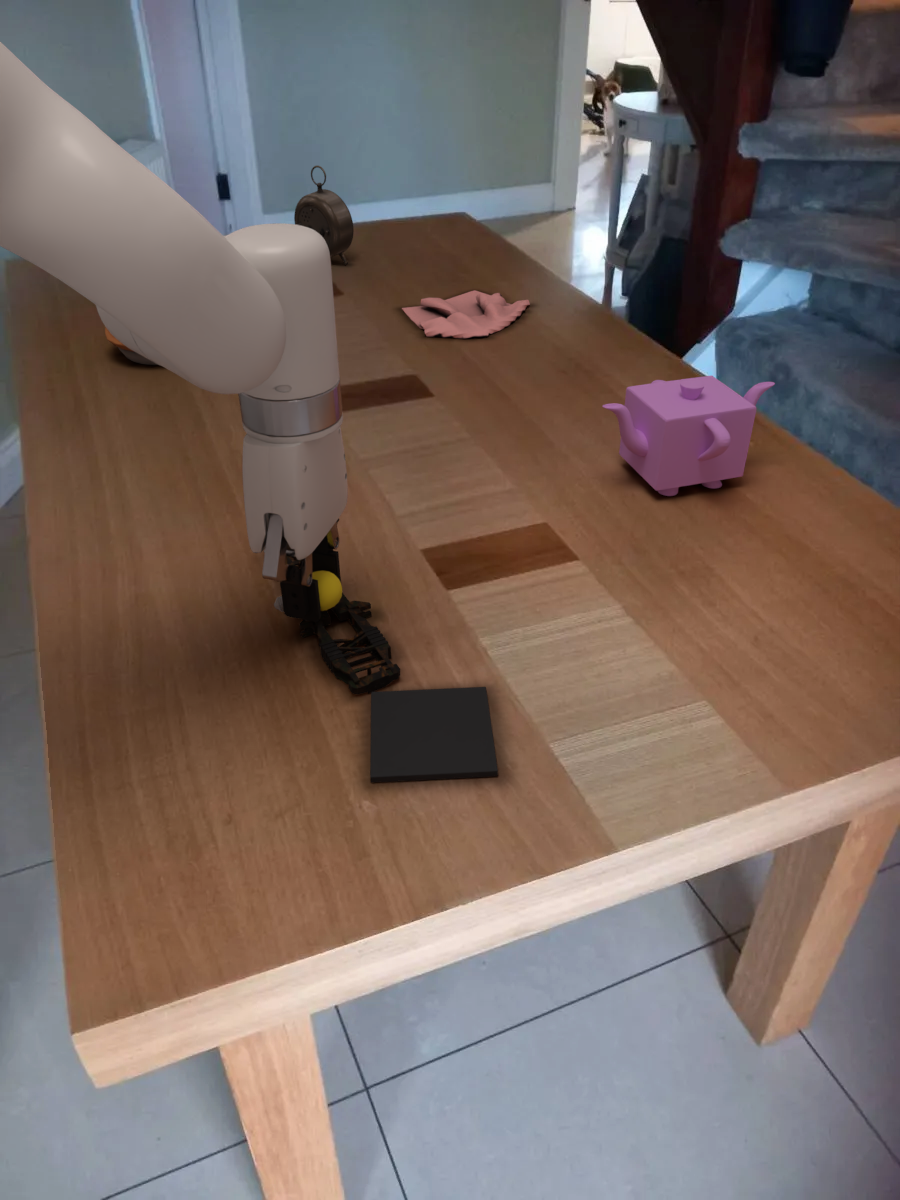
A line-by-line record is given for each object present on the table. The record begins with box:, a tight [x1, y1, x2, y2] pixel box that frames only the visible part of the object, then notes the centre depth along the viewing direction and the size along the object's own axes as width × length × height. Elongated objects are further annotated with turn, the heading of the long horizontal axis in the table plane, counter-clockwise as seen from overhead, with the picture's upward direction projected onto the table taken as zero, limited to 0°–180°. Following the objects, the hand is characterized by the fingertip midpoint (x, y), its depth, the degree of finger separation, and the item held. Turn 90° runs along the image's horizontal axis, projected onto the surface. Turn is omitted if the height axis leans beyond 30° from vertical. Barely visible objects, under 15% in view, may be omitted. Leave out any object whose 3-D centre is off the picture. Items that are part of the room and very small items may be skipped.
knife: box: [263, 543, 401, 696], centre depth 81 cm, size 25×6×1 cm, turn 22°
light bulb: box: [273, 570, 343, 613], centre depth 78 cm, size 3×6×4 cm, turn 104°
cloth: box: [401, 290, 531, 340], centre depth 143 cm, size 20×22×2 cm
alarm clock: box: [293, 165, 355, 266], centre depth 163 cm, size 11×5×16 cm, turn 53°
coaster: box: [369, 686, 499, 783], centre depth 68 cm, size 9×9×1 cm
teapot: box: [601, 375, 776, 497], centre depth 98 cm, size 15×13×11 cm
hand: (313, 600), depth 79 cm, fingers closed on light bulb, 3 cm apart
